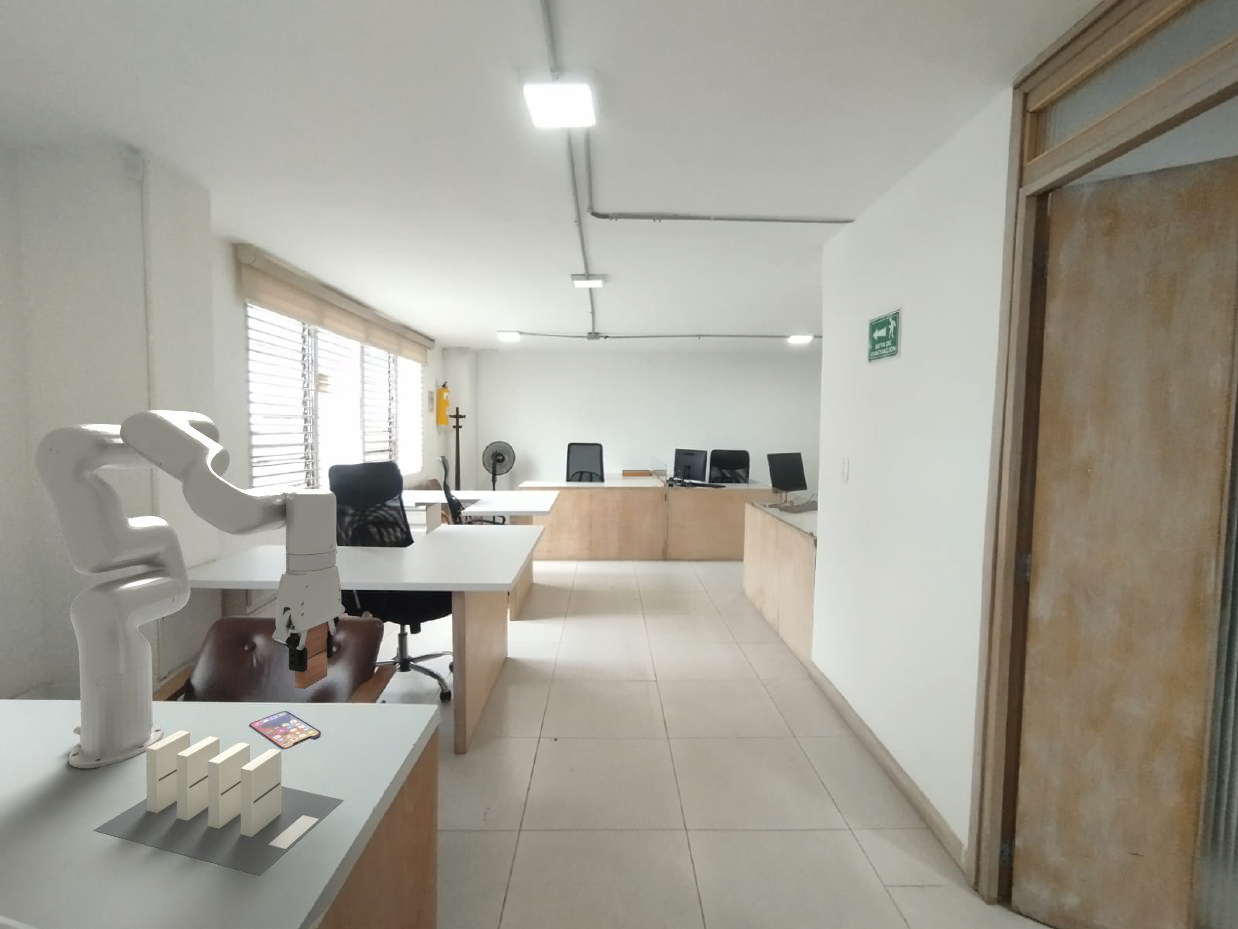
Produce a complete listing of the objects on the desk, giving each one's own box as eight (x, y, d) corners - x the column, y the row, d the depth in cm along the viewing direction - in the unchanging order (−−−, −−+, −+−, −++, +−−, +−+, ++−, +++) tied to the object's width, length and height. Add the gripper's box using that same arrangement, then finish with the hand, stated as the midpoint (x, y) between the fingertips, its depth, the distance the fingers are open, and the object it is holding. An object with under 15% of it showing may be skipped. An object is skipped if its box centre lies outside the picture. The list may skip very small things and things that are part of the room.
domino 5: (294, 687, 89) (294, 630, 88) (317, 674, 93) (317, 620, 93) (304, 689, 88) (305, 631, 88) (327, 676, 93) (327, 621, 93)
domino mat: (93, 833, 76) (93, 830, 76) (197, 770, 90) (197, 767, 90) (260, 879, 69) (259, 875, 69) (343, 803, 84) (343, 800, 84)
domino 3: (208, 826, 77) (207, 761, 77) (239, 803, 82) (239, 742, 82) (219, 829, 77) (218, 763, 76) (250, 806, 82) (250, 744, 81)
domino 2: (176, 818, 79) (176, 754, 78) (209, 796, 84) (209, 736, 83) (187, 821, 78) (187, 756, 78) (220, 798, 83) (219, 738, 83)
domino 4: (240, 834, 76) (240, 768, 75) (270, 810, 81) (270, 748, 80) (252, 837, 75) (251, 770, 75) (281, 813, 80) (281, 750, 80)
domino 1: (146, 810, 80) (145, 747, 80) (180, 789, 85) (180, 730, 84) (157, 813, 80) (156, 750, 79) (190, 791, 84) (190, 732, 84)
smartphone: (285, 714, 110) (323, 737, 102) (246, 729, 104) (283, 755, 96) (285, 709, 110) (323, 732, 102) (246, 724, 104) (283, 750, 96)
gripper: (330, 549, 99) (330, 642, 100) (248, 570, 82) (249, 682, 83) (364, 552, 97) (363, 647, 98) (288, 574, 81) (288, 689, 81)
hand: (311, 662), depth 91 cm, fingers closed on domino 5, 4 cm apart
